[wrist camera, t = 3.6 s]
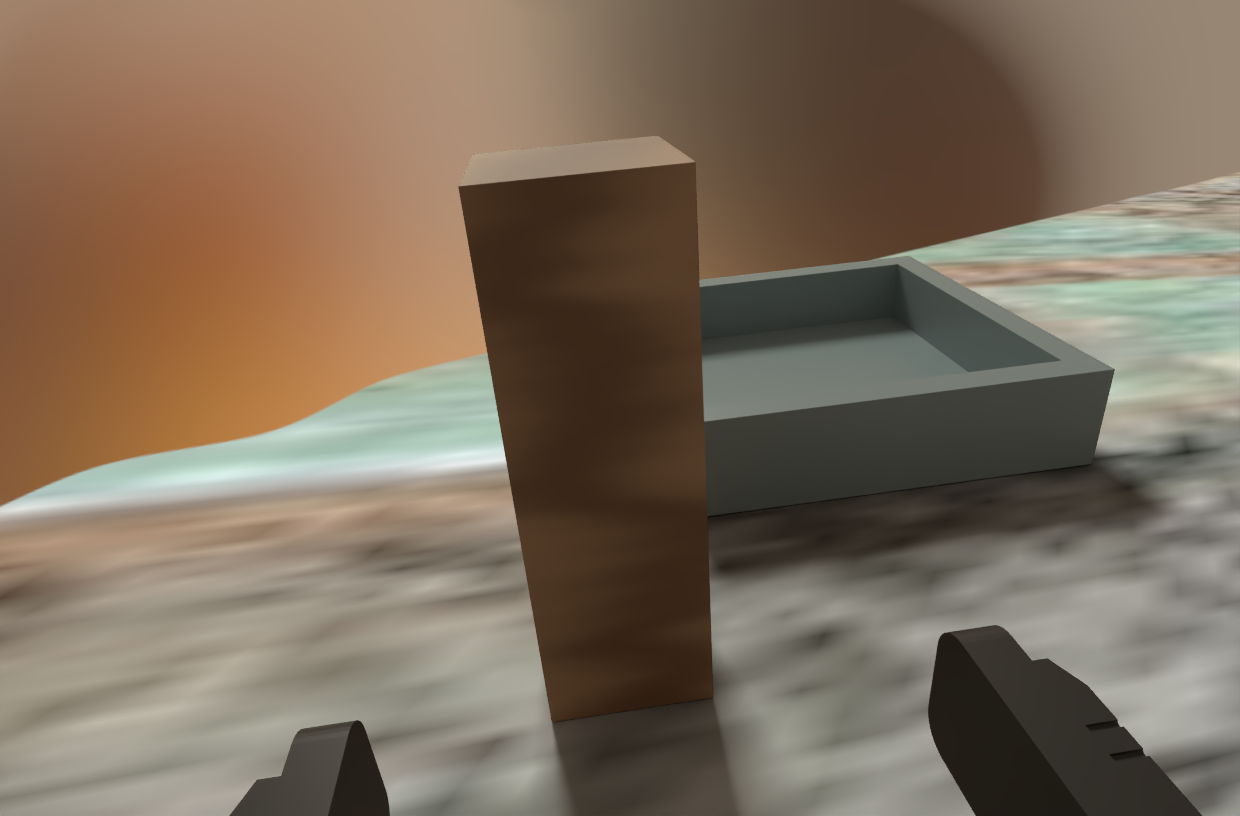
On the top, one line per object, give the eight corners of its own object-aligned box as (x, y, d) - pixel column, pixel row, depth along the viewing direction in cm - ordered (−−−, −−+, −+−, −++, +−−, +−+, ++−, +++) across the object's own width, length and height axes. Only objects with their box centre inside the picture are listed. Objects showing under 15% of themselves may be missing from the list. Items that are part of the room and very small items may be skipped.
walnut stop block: (682, 590, 24) (657, 135, 18) (713, 697, 20) (695, 162, 14) (547, 610, 24) (473, 154, 17) (552, 722, 20) (458, 186, 13)
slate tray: (902, 323, 43) (909, 255, 41) (1091, 463, 28) (1114, 369, 27) (629, 356, 42) (623, 288, 40) (683, 519, 27) (679, 424, 26)
